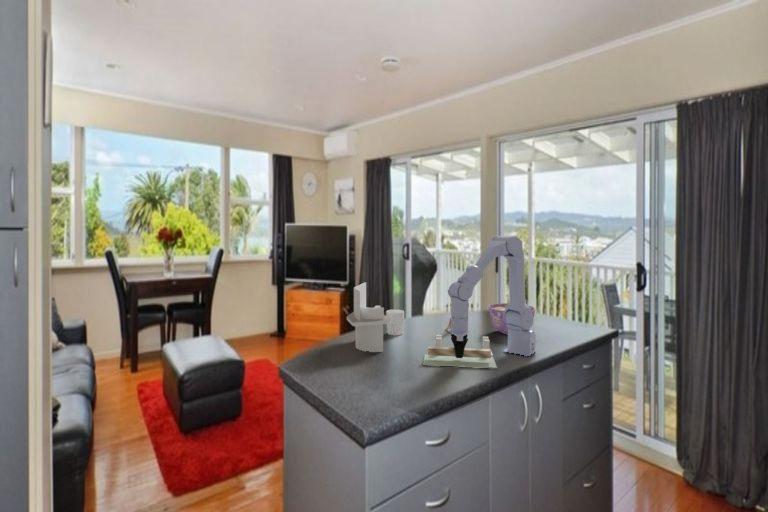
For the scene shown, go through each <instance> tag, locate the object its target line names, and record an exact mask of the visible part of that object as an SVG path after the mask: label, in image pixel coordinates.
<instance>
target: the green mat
mask: <svg viewBox="0 0 768 512" xmlns="http://www.w3.org/2000/svg"><path fill="white" fill-rule="evenodd" d="M423 365H428V366H427V367H440V366H462V367H463V366H465V367H492V368H497V369H498V367H497V364H496V361H495V358H494V356H493V357H491V358H474V357H463V358H456V357H454V356H434V355H428V353H425V354H424V358H423V362H422V366H423ZM430 365H431V366H430Z"/></svg>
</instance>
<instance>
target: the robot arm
mask: <svg viewBox="0 0 768 512" xmlns="http://www.w3.org/2000/svg"><path fill="white" fill-rule="evenodd" d="M487 245H488V246H487V248H486V249H485V251H484V252H483V253H482V255H481V256H480V257H479V259H478V260H477V261H476V263H475V264H474V265H469V266H467V267H466V268H465V271H464V272H463V274H461V276H460V277H458V278H457V281H453V282H452V283H451V284H450V286H449V288H448V289H447V293H448V296H449V297H450V303H451V305H450V306H451V308H450V309H451V312H450V318H451V329H448V331H447V333H450V340H451V342H452V344H453V348H454V349H455V355H456V358H463V354H464V349H465V348H466V346H467V343H468V342H469V338H468V336H469V335H468V334H469V299H471V298H472V296H473V293H474V288H475V286H477V284H478V283H479V282H480V280H482V278H483V277H484V271H485V269H487V268H488V267H489V265H490V264H491V263H492V262H493V261H494V260H495V259H496V258H497V257H504V258H505V259H506V260H507V261H508V282H509V283H508V285H509V286H508V289H509V290H508V291H509V292H508V293H509V302H508V303H509V304H507V305H506V306H505V313H504V322H505V323H506V324H507V327H508V335H507V348H505V349H504V350H503V351H504V352H503V353H506V352H509V353H508V354H511V353H514V354H513V355H516V354H520V355H519V356H521V355H524V356H523V357H527V356H529V357H530V356H532V355H534V354H535V353H536V352H537V351H536V332H535V330H531V328H532V327H533V325H534V318H533V316H532V313H531V308H530V307H529V306H530V305H529V304H527V303H526V285H525V284H526V283H525V282H526V278H525V276H526V275H525V272H526V271H525V253H524V248H523V247H524V246H523V245H524V244H523V240H522V239H521V238H520V237H518V236H517V235H508V236H507V235H494V236H493V237H492V238H491V240H490V241H488V244H487ZM534 352H535V353H534ZM531 354H532V355H531Z"/></svg>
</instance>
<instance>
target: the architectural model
mask: <svg viewBox="0 0 768 512" xmlns="http://www.w3.org/2000/svg"><path fill="white" fill-rule="evenodd" d="M384 311H385V307H381V305H375V306H374V307H367V282H366V281H365V282H363V283H361V284H359V285H356V286H354V287H353V311H352V312H351V313H349V314H348V315H346V320H347V321H348V323H349V324H350V325H351V326H352V327H355V331H354V332H355V348H356V349H357V350H358V349H359V351H361V350H362V352H366V351H369V352H368V353H384V325H387V324H391V319H390V318H388V317H387V316H386V314H385V312H384Z"/></svg>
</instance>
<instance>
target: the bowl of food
mask: <svg viewBox="0 0 768 512" xmlns="http://www.w3.org/2000/svg"><path fill="white" fill-rule="evenodd" d="M509 303H510V302H508V303H505V302H504V303H503V302H502V303H501V302H500V303H492V304H489V305H488V307H487V308H488V312H489V316H490V321H491V324H492V326H493V327H494V329H495V330H497V331H498V332H500V333H501V334H502V333H503V334H502V335H505V334H506V336H508V327H507V324H506V323H505V322H504V313H505V306H506V305H507V304H509ZM528 306H529V307H530V308H531V313H532V316H533V319H534V317H535V314H536V310H537V309H536V307H535V306H531V305H528Z"/></svg>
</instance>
